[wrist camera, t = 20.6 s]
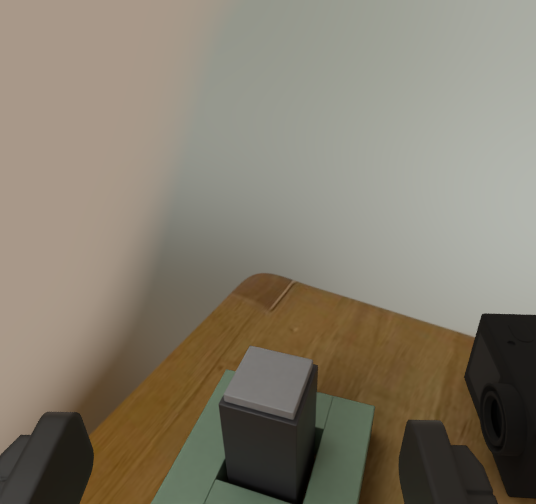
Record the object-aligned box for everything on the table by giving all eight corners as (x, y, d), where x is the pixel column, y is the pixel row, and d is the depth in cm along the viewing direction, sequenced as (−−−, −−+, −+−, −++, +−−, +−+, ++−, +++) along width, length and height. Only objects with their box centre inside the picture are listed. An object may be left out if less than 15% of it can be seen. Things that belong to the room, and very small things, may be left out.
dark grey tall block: (230, 500, 30) (216, 396, 25) (254, 442, 34) (247, 341, 28) (296, 523, 29) (296, 418, 23) (314, 460, 32) (318, 357, 27)
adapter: (155, 536, 28) (147, 509, 27) (229, 395, 37) (226, 369, 36) (339, 607, 25) (343, 581, 23) (371, 432, 34) (375, 405, 32)
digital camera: (448, 375, 38) (464, 310, 35) (515, 378, 38) (539, 312, 34) (488, 496, 30) (516, 426, 26) (576, 502, 29) (617, 432, 26)
